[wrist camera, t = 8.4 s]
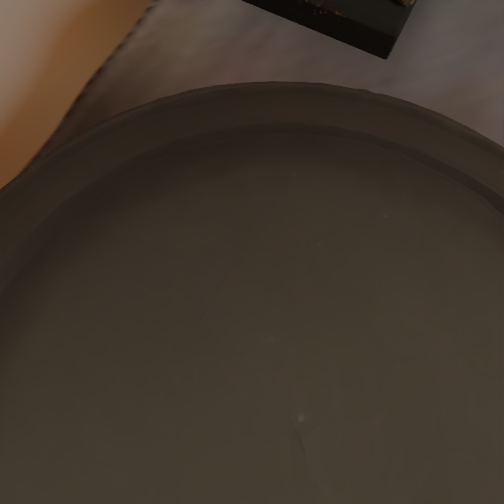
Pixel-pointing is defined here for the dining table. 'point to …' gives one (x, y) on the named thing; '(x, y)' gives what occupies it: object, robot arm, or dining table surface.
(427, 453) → the coffee can
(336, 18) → the coral
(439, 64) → the dining table surface
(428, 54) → the dining table surface
